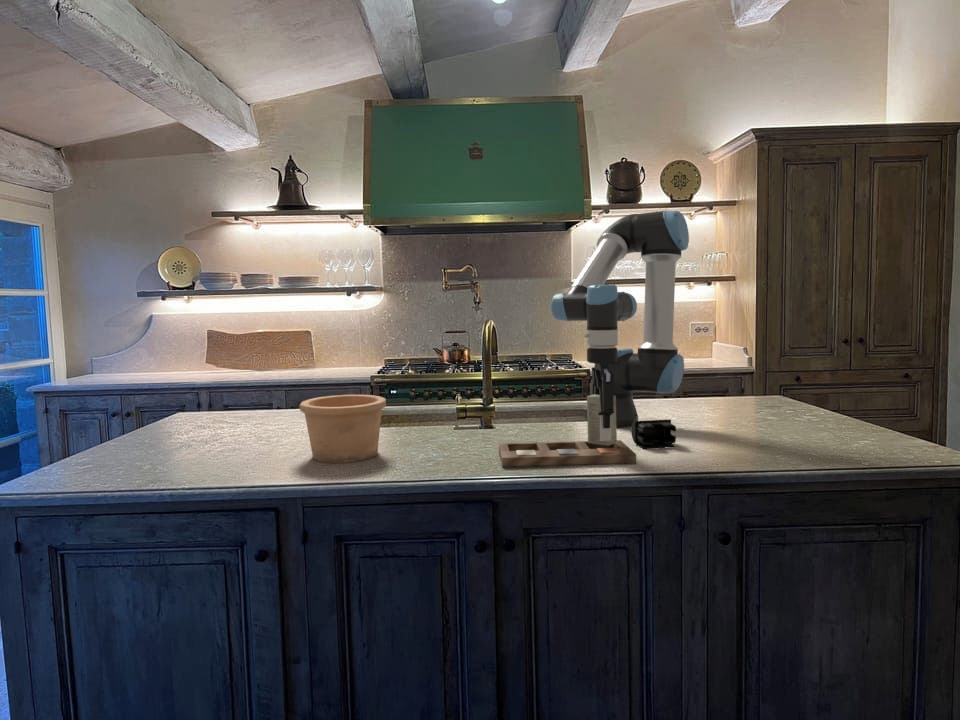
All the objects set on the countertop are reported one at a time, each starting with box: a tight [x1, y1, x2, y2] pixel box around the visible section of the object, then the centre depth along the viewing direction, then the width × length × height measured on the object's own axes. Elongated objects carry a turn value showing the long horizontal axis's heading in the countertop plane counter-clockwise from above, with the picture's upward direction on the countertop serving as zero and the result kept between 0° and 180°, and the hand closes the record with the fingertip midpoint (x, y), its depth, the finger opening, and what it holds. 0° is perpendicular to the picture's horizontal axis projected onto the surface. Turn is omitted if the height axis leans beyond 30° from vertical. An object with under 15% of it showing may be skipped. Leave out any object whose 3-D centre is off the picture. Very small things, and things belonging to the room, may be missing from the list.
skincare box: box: [586, 394, 618, 446], centre depth 162 cm, size 6×4×12 cm
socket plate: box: [498, 439, 637, 469], centre depth 160 cm, size 32×15×3 cm, turn 92°
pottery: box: [299, 394, 387, 464], centre depth 167 cm, size 22×22×14 cm
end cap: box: [631, 419, 677, 450], centre depth 171 cm, size 10×7×7 cm
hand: (602, 436), depth 163 cm, fingers closed on skincare box, 7 cm apart
